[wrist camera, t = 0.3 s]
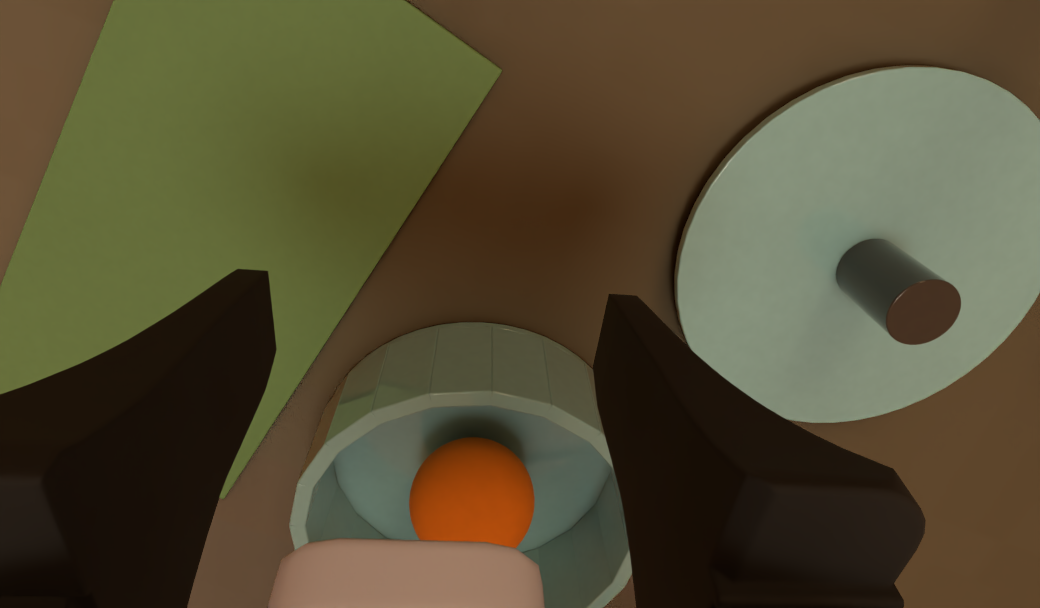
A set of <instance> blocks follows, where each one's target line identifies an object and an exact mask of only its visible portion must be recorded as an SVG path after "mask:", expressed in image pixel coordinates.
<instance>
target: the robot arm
mask: <svg viewBox="0 0 1040 608" xmlns="http://www.w3.org/2000/svg"><path fill="white" fill-rule="evenodd" d="M276 351H277V348H276V339H275V330H274V320H273V311H272V302H271V292H270V283H269V274H268V271H264V270H250V269H236V270H235V271H233V272H231V273H230V274H228V275H227V276H225V277H224V278H222V279H221V280H220V281H218V282H217V283H215V284H214V285H212V286H211V287H209V288H208V289H207V290H205V291H204V292H202V293H201V294H199V295H198V296H196V297H195V298H193V299H192V300H190V301H189V302H188V303H186V304H185V305H183V306H182V307H180V308H179V309H177V310H176V311H174V312H173V313H171V314H170V315H168V316H166V317H165V318H163V319H161V320H160V321H158V322H156V323H155V324H153V325H151V326H150V327H148V328H146V329H145V330H143V331H141V332H140V333H138V334H137V335H135V336H133V337H132V338H130V339H128V340H126V341H124V342H122V343H121V344H119V345H117V346H115V347H113V348H111V349H109V350H107V351H105V352H103V353H101V354H99V355H97V356H95V357H93V358H91V359H89V360H86V361H84V362H82V363H80V364H78V365H75V366H73V367H71V368H68V369H66V370H63V371H61V372H58V373H56V374H53V375H51V376H48V377H46V378H43V379H41V380H38V381H36V382H34V383H31V384H28V385H26V386H23V387H20V388H17V389H14V390H11V391H9V392H6V393H3V394H0V608H187V605H188V601H189V598H190V594H191V590H192V586H193V583H194V579H195V576H196V572H197V569H198V565H199V562H200V559H201V555H202V552H203V548H204V545H205V541H206V538H207V535H208V531H209V528H210V525H211V522H212V519H213V516H214V512H215V509H216V506H217V503H218V500H219V497H220V494H221V491H222V488H223V486H224V483H225V481H226V478H227V476H228V473H229V471H230V469H231V467H232V464H233V462H234V460H235V458H236V456H237V453H238V451H239V449H240V447H241V444H242V442H243V440H244V438H245V436H246V433H247V431H248V429H249V427H250V424H251V422H252V420H253V418H254V415H255V413H256V411H257V409H258V406H259V404H260V402H261V400H262V397H263V395H264V392H265V390H266V387H267V383H268V380H269V377H270V373H271V370H272V366H273V362H274V358H275V354H276ZM593 373H594V383H595V392H596V400H597V407H598V411H599V415H600V419H601V423H602V427H603V431H604V434H605V438H606V442H607V446H608V449H609V453H610V457H611V461H612V464H613V468H614V472H615V476H616V479H617V483H618V487H619V491H620V496H621V500H622V505H623V510H624V517H625V524H626V530H627V537H628V544H629V551H630V559H631V567H632V575H633V583H634V591H635V600H636V608H903V607H904V600H903V599H902V597H901V595H900V593H899V592H898V590H897V588H896V586H895V585H894V582H895V581H896V579H897V578H898V576H899V575H900V573H901V572H902V570H903V569H904V567H905V566H906V565H907V563H908V562H909V560H910V559H911V557H912V556H913V554H914V553H915V551H916V550H917V548H918V546H919V544H920V542H921V540H922V538H923V535H924V532H925V518H924V515H923V513H922V510H921V508H920V507H919V505H918V504H917V502H916V501H915V499H914V498H913V496H912V495H911V494H910V492H909V491H908V489H907V488H906V486H905V485H904V483H903V482H902V480H901V479H900V478H899V476H898V475H897V473H896V472H895V471H894V469H892V468H890V467H887V466H885V465H882V464H880V463H878V462H875V461H873V460H870V459H868V458H865V457H863V456H860V455H858V454H855V453H853V452H850V451H848V450H846V449H843V448H841V447H839V446H837V445H835V444H833V443H831V442H829V441H826V440H824V439H822V438H820V437H818V436H816V435H814V434H812V433H810V432H808V431H806V430H805V429H803V428H801V427H799V426H797V425H795V424H793V423H792V422H790V421H788V420H786V419H785V418H783V417H781V416H780V415H778V414H776V413H775V412H773V411H771V410H770V409H768V408H766V407H765V406H763V405H762V404H760V403H759V402H757V401H756V400H754V399H753V398H751V397H750V396H748V395H747V394H746V393H744V392H743V391H741V390H740V389H739V388H737V387H736V386H734V385H733V384H732V383H730V382H729V381H728V380H726V379H725V378H724V377H722V376H721V375H720V374H719V373H718V372H716V371H715V370H714V369H713V368H712V367H710V366H709V365H708V364H707V363H706V362H705V361H703V360H702V359H701V358H700V357H699V356H698V355H697V354H695V353H694V352H693V351H692V350H691V349H690V348H689V347H688V346H687V345H686V344H685V343H684V342H683V341H682V340H681V339H679V338H678V337H677V336H676V335H675V334H674V333H673V332H672V331H671V330H670V329H669V328H668V327H667V326H666V325H665V324H664V323H663V322H662V321H661V320H660V319H659V318H658V317H657V316H656V314H655V313H654V312H653V311H652V310H651V309H650V308H649V307H648V306H647V305H646V304H645V303H644V302H643V301H642V300H640V299H639V298H638V297H637V296H632V295H618V294H609V296H608V301H607V305H606V310H605V315H604V319H603V324H602V328H601V333H600V337H599V342H598V347H597V351H596V356H595V360H594V365H593ZM267 608H545V605H544V593H543V584H542V579H541V575H540V570H539V565H538V564H536V563H535V562H534V561H532V560H531V559H530V558H528V557H527V556H526V555H524V554H523V553H522V552H520V551H519V550H517V549H515V548H513V547H508V546H503V545H498V544H493V543H488V542H469V541H433V540H396V539H360V538H337V539H330V540H323V541H316V542H310V543H307V544H304V545H303V546H301V547H300V548H298V549H297V550H295V551H293V552H292V553H290V554H289V555H287V556H286V557H284V558H282V559H281V563H280V566H279V569H278V572H277V575H276V578H275V582H274V585H273V589H272V593H271V596H270V600H269V603H268V607H267Z"/></svg>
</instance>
